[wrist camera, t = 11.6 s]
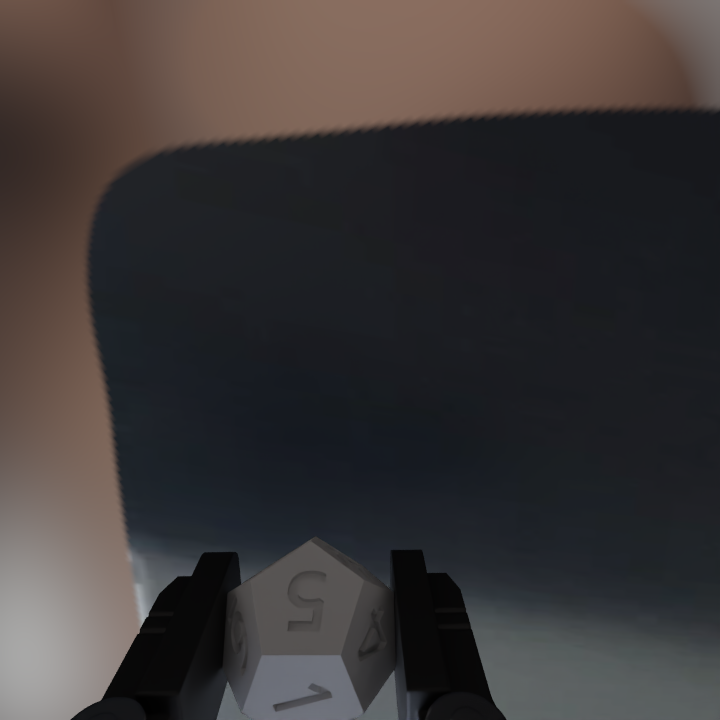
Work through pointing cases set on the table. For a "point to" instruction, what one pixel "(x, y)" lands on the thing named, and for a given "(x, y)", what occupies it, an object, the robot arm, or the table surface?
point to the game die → (309, 637)
